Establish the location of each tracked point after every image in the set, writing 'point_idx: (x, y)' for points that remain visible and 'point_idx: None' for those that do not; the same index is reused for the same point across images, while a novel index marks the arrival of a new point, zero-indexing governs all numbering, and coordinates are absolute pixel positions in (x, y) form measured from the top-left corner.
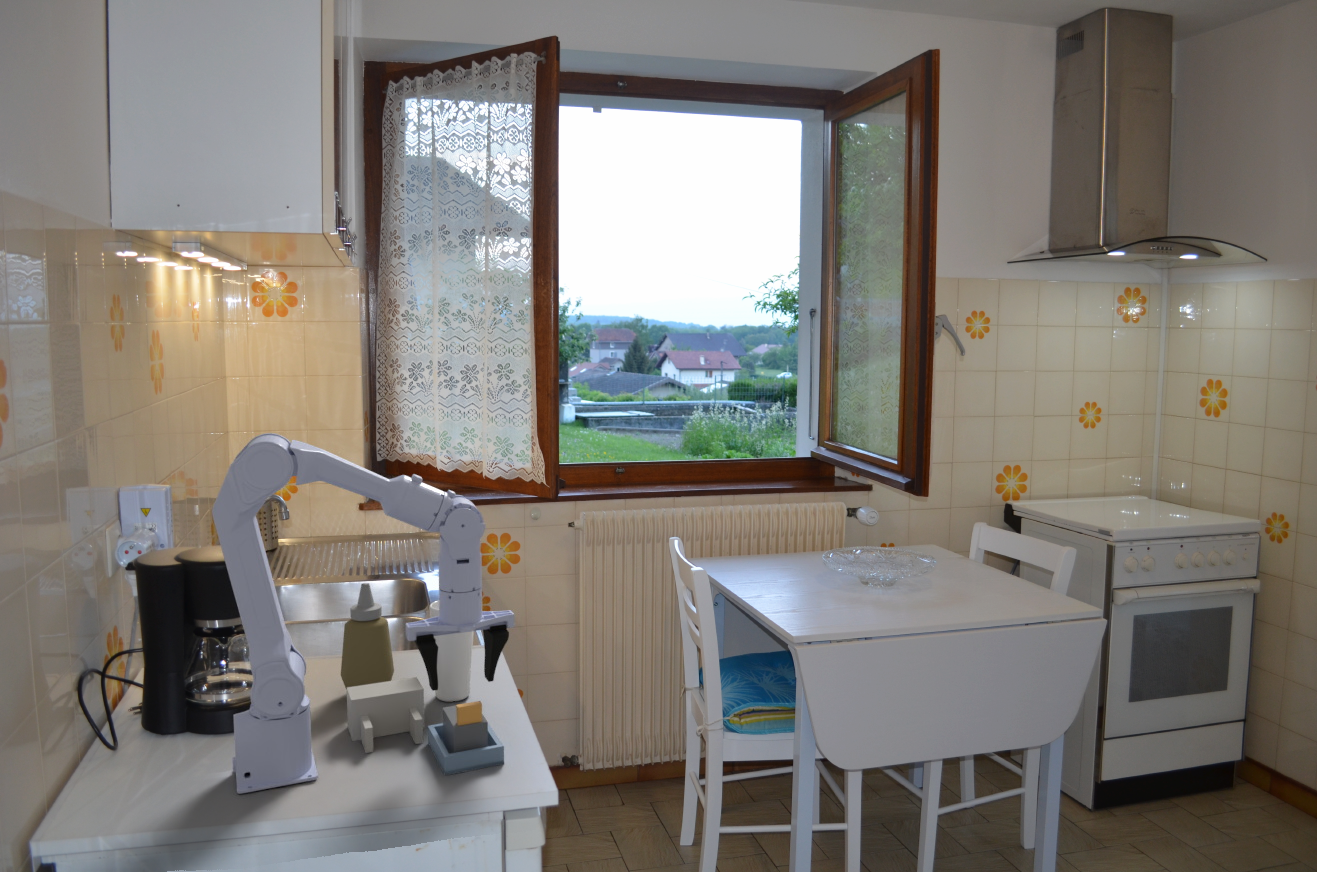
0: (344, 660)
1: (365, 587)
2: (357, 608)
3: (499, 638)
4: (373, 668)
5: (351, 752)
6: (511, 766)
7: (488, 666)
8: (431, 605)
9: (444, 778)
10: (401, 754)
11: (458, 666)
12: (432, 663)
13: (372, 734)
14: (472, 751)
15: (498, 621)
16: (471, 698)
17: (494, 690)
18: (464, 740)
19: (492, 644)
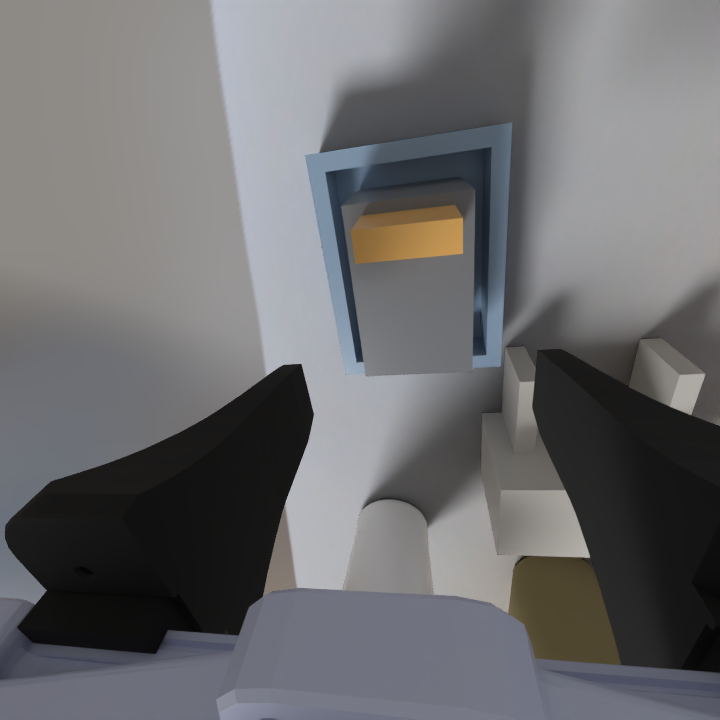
0: None
1: None
2: None
3: (95, 490)
4: (578, 622)
5: (693, 352)
6: (299, 128)
7: (281, 413)
8: None
9: (505, 102)
10: (576, 302)
11: (378, 569)
12: (652, 417)
13: (668, 362)
14: (410, 143)
15: (11, 689)
16: (357, 501)
17: (309, 515)
18: (431, 187)
19: (186, 468)
